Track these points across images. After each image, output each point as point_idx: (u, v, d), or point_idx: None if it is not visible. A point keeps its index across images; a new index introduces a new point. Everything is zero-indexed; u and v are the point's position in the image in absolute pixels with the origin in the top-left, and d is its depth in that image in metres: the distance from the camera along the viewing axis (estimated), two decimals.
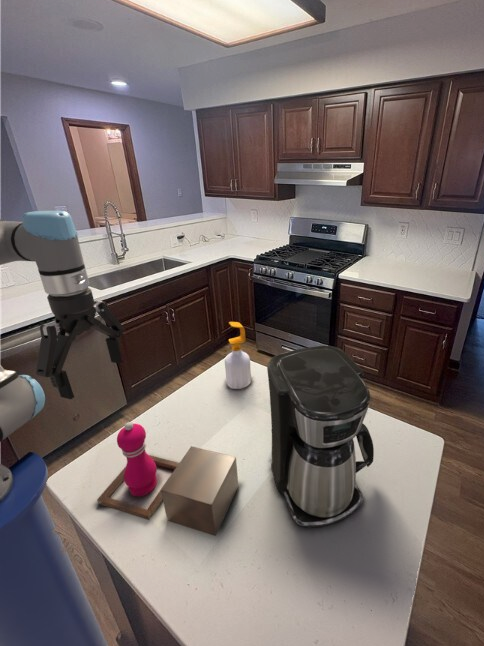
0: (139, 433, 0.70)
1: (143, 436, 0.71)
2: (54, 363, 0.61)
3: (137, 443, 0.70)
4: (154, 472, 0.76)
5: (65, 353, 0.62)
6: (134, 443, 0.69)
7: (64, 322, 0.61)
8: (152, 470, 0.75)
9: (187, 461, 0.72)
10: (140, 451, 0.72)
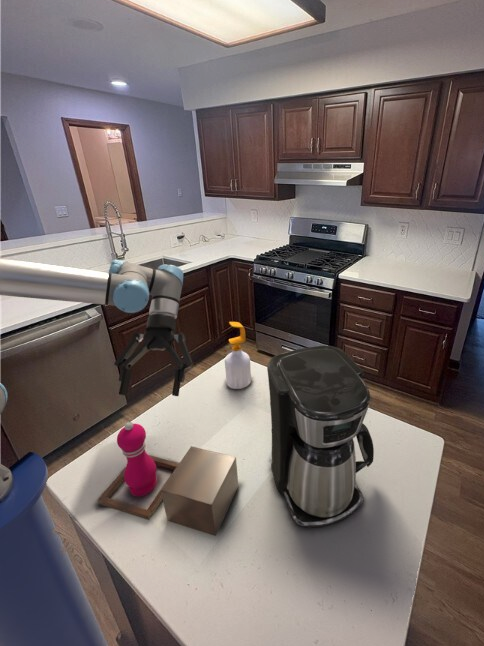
0: (139, 433, 0.70)
1: (143, 436, 0.71)
2: (182, 362, 0.83)
3: (137, 443, 0.70)
4: (154, 472, 0.76)
5: None
6: (134, 443, 0.69)
7: None
8: (152, 470, 0.75)
9: (187, 461, 0.72)
10: (140, 451, 0.72)
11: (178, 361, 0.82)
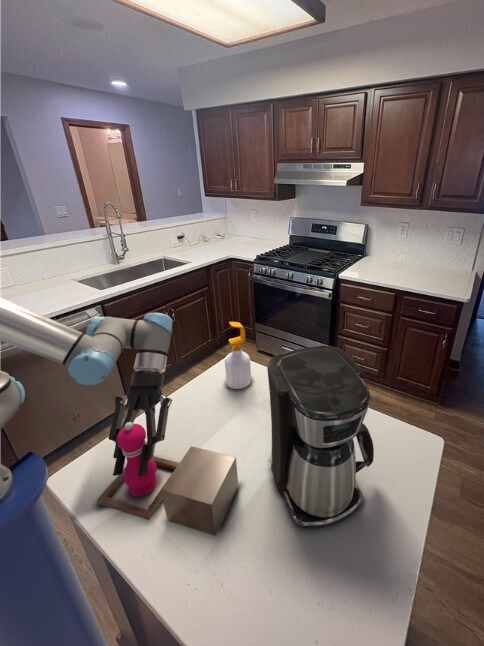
0: (139, 433, 0.70)
1: (143, 436, 0.71)
2: (154, 434, 0.75)
3: (137, 443, 0.70)
4: (154, 472, 0.76)
5: None
6: (134, 443, 0.69)
7: None
8: (152, 470, 0.75)
9: (187, 461, 0.72)
10: (140, 451, 0.72)
11: (150, 433, 0.73)
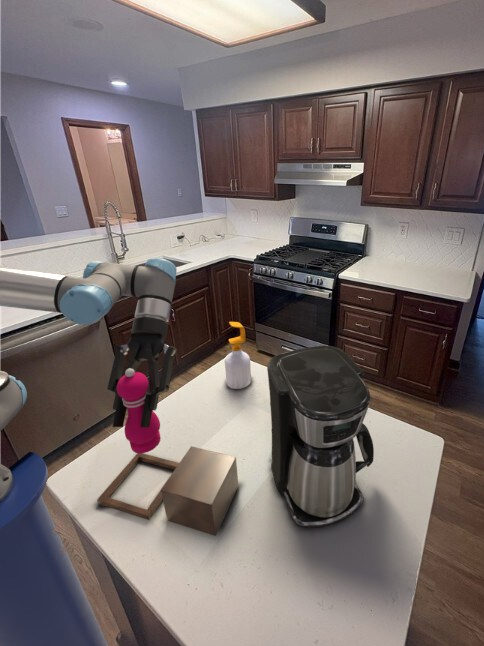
0: (141, 381, 0.64)
1: (146, 384, 0.65)
2: (158, 384, 0.68)
3: (139, 391, 0.63)
4: (158, 427, 0.69)
5: None
6: (135, 390, 0.63)
7: None
8: (156, 424, 0.69)
9: (187, 461, 0.72)
10: (142, 401, 0.65)
11: (153, 383, 0.67)
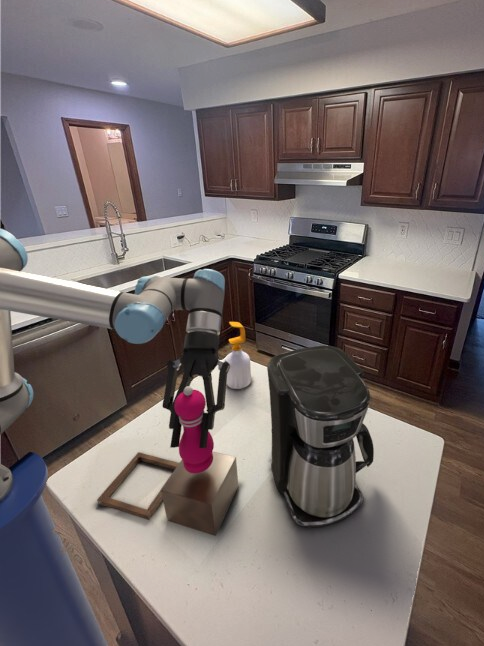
0: (200, 399, 0.61)
1: (204, 403, 0.62)
2: (213, 402, 0.65)
3: (198, 410, 0.61)
4: (212, 446, 0.67)
5: None
6: (195, 410, 0.60)
7: None
8: (211, 443, 0.66)
9: None
10: (200, 420, 0.62)
11: (209, 400, 0.64)
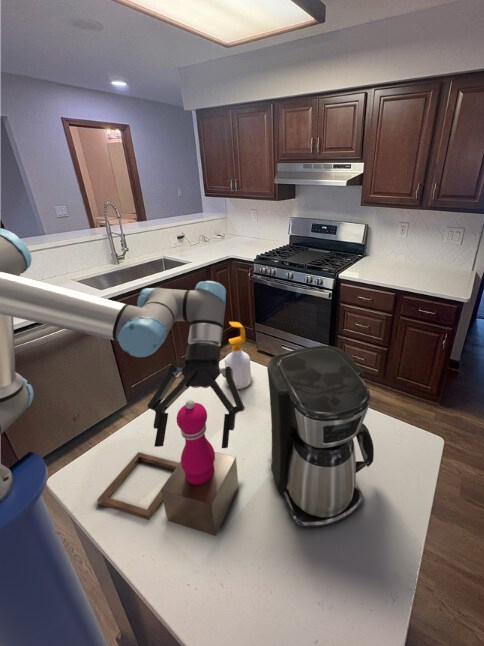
0: (201, 413, 0.62)
1: (205, 416, 0.63)
2: None
3: (200, 424, 0.62)
4: (213, 458, 0.68)
5: None
6: (197, 423, 0.61)
7: None
8: (212, 455, 0.67)
9: None
10: (202, 433, 0.64)
11: (227, 403, 0.66)
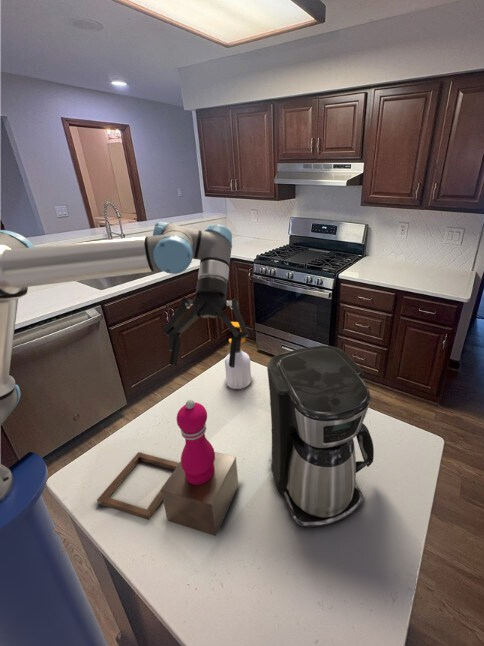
0: (201, 413, 0.62)
1: (205, 416, 0.63)
2: None
3: (200, 424, 0.62)
4: (213, 457, 0.68)
5: None
6: (197, 423, 0.61)
7: None
8: (212, 455, 0.67)
9: None
10: (202, 433, 0.64)
11: (233, 329, 0.73)
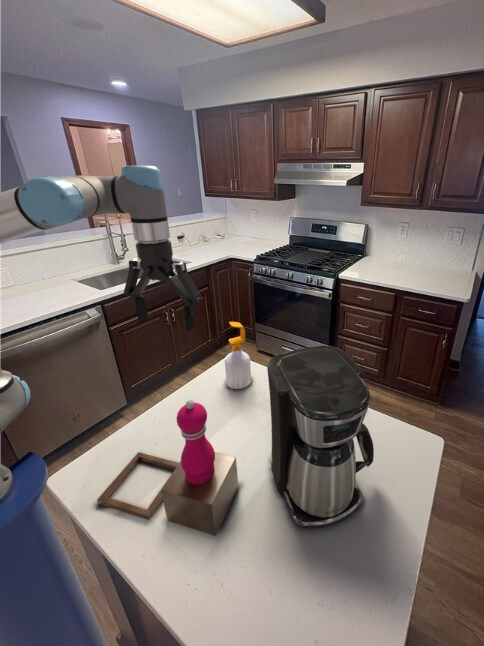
0: (201, 413, 0.62)
1: (205, 416, 0.63)
2: (189, 295, 0.74)
3: (200, 424, 0.62)
4: (213, 457, 0.68)
5: None
6: (197, 423, 0.61)
7: None
8: (212, 455, 0.67)
9: None
10: (202, 433, 0.64)
11: (183, 297, 0.72)
